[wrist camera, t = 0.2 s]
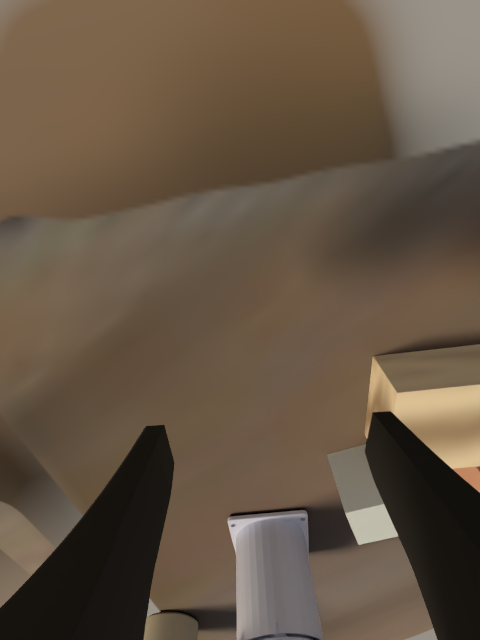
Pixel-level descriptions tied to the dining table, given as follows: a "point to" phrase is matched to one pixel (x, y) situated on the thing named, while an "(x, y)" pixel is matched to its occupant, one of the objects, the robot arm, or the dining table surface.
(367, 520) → the off-white cube
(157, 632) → the travel mug
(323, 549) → the dining table surface
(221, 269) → the dining table surface
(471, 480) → the terracotta cube
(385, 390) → the maple block
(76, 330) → the dining table surface
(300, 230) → the dining table surface
